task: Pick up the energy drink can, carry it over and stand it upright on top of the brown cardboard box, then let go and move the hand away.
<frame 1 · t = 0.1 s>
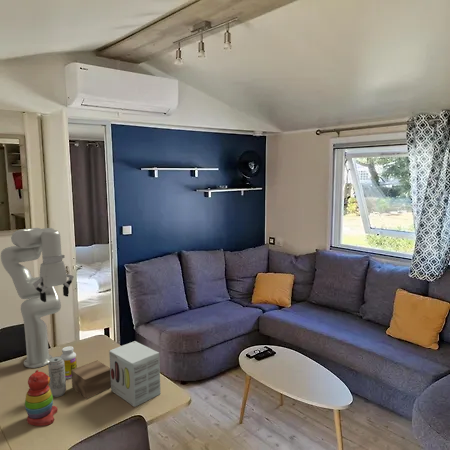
hand: (55, 298, 175), 37 cm above the table, tool pointing down, fingers open, 9 cm apart
stacking bear: (41, 418, 152), on the table
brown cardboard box: (92, 387, 173), on the table
energy drink can: (58, 394, 168), on the table
supplement box: (135, 393, 168), on the table
supplement bottle: (69, 376, 183), on the table
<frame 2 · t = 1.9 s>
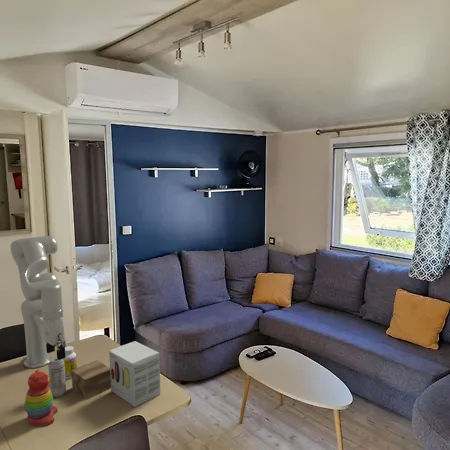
hand: (56, 355, 166), 17 cm above the table, tool pointing down, fingers open, 9 cm apart
nothing on the table moved.
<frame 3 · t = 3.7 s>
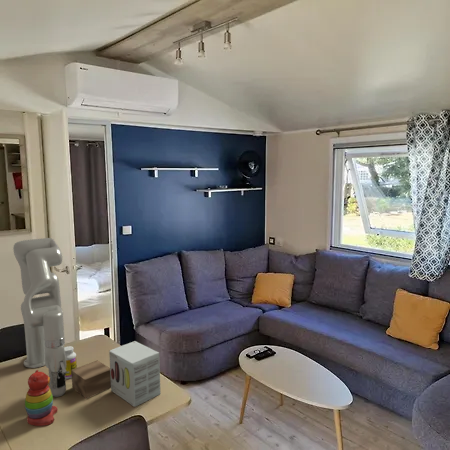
hand: (57, 383, 168), 5 cm above the table, tool pointing down, fingers closed on energy drink can, 6 cm apart
energy drink can: (58, 394, 168), on the table, touching gripper
everything else where it was.
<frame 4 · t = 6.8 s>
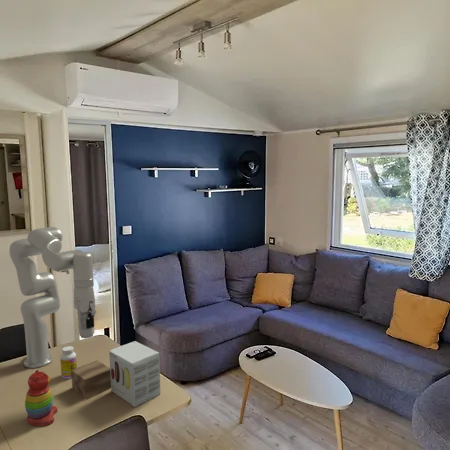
hand: (86, 325, 169), 28 cm above the table, tool pointing down, fingers closed on energy drink can, 6 cm apart
energy drink can: (87, 336, 169), point 23 cm above the table, touching gripper
everything else where it was.
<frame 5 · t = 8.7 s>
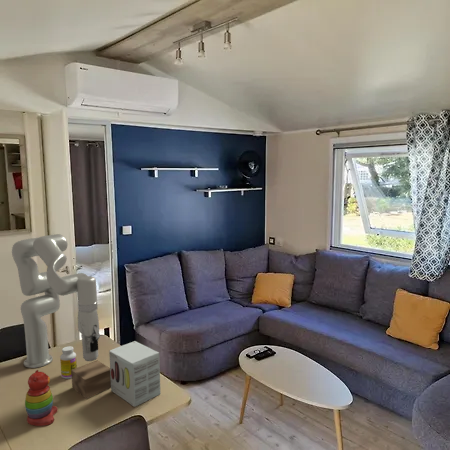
hand: (90, 348, 170), 18 cm above the table, tool pointing down, fingers closed on energy drink can, 6 cm apart
energy drink can: (90, 359, 171), point 13 cm above the table, touching gripper
everything else where it was.
when the fingers open (14 cm above the table, at t = 10.2 s): energy drink can drops 2 cm, resting on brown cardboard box.
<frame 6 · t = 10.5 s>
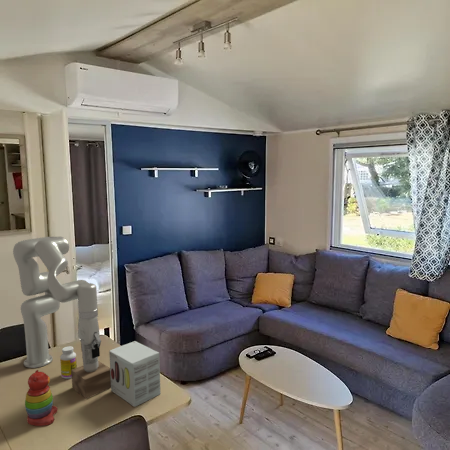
hand: (90, 353, 171), 15 cm above the table, tool pointing down, fingers open, 8 cm apart
energy drink can: (91, 369, 172), point 8 cm above the table, touching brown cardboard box
everything else where it was.
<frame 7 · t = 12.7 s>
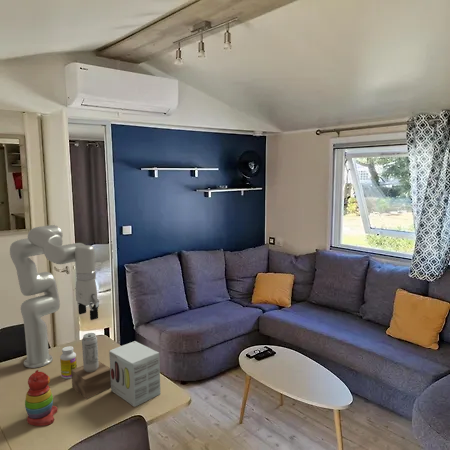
hand: (88, 316, 169), 31 cm above the table, tool pointing down, fingers open, 9 cm apart
nothing on the table moved.
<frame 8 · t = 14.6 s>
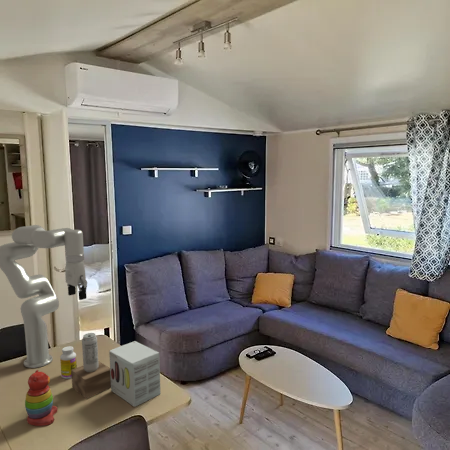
hand: (77, 297, 178), 36 cm above the table, tool pointing down, fingers open, 9 cm apart
nothing on the table moved.
at the end: energy drink can inside the target area on the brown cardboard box (0.3 cm from its centre), point 7.8 cm above the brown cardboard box's base; energy drink can tilted 0°; the gripper is holding nothing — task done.
